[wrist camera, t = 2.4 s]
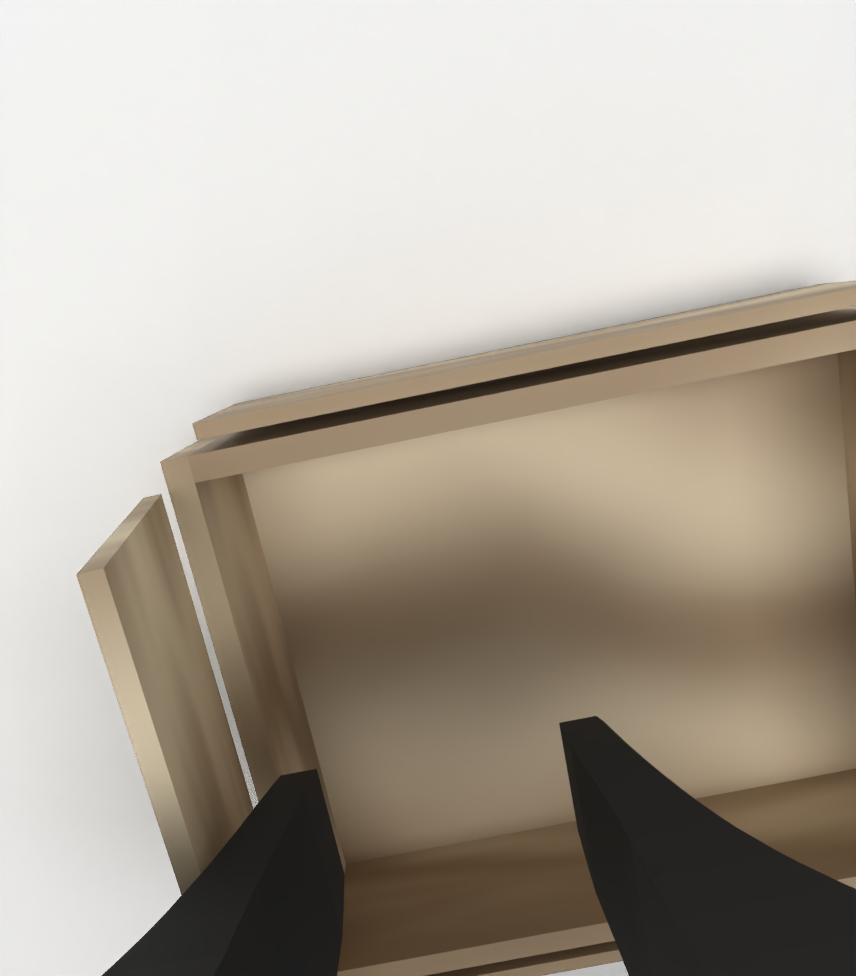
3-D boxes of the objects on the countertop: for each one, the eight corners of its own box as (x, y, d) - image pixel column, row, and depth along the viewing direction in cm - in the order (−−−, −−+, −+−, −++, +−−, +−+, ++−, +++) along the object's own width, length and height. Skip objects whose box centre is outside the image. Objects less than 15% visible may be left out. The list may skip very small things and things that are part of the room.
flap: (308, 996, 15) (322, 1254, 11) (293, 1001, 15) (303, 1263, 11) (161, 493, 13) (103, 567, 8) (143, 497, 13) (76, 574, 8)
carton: (882, 791, 19) (985, 894, 15) (333, 893, 19) (316, 1016, 16) (847, 277, 16) (965, 265, 13) (202, 410, 16) (145, 432, 13)
